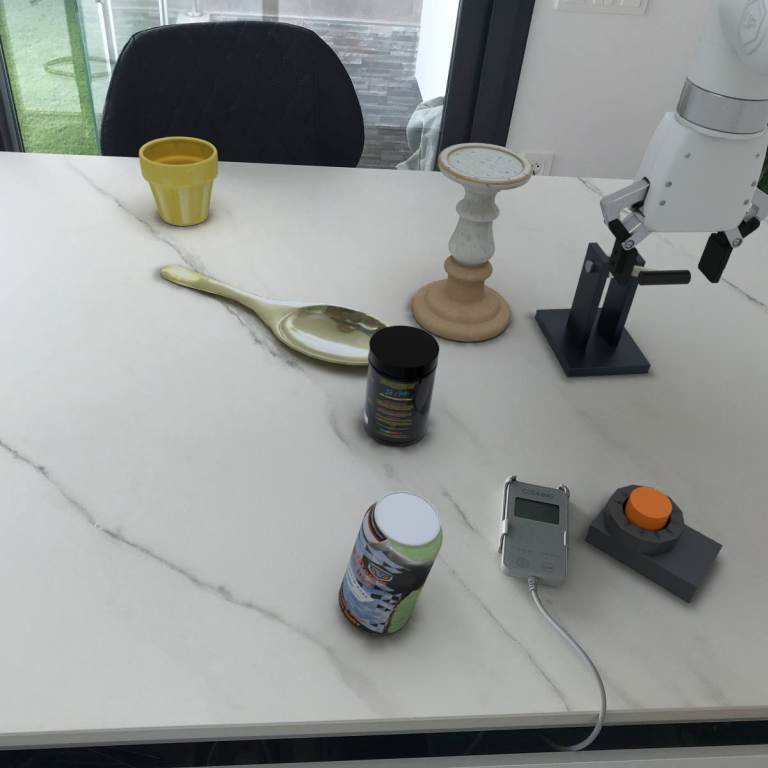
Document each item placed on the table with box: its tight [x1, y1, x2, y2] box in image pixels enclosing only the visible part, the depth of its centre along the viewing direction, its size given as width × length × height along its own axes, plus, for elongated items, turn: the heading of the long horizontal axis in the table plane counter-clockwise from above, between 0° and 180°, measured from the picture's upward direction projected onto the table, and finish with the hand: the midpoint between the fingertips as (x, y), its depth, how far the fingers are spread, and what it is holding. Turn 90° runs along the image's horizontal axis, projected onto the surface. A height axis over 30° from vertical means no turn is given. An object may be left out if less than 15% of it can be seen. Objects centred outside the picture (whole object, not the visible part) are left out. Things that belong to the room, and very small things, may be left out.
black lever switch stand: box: [534, 242, 651, 378], centre depth 90 cm, size 12×10×13 cm
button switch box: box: [584, 484, 723, 603], centre depth 69 cm, size 10×6×4 cm, turn 51°
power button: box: [625, 486, 672, 531], centre depth 68 cm, size 4×4×2 cm
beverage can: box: [338, 490, 444, 636], centre depth 59 cm, size 6×7×12 cm
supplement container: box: [363, 324, 440, 447], centre depth 77 cm, size 7×7×10 cm
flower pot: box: [138, 136, 219, 227], centre depth 108 cm, size 10×10×10 cm
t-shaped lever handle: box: [605, 253, 692, 287], centre depth 82 cm, size 13×5×2 cm, turn 9°
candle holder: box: [411, 142, 534, 343], centre depth 91 cm, size 12×12×20 cm
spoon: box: [160, 264, 391, 366], centre depth 93 cm, size 35×11×2 cm, turn 59°
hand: (662, 277), depth 77 cm, fingers open, 9 cm apart
